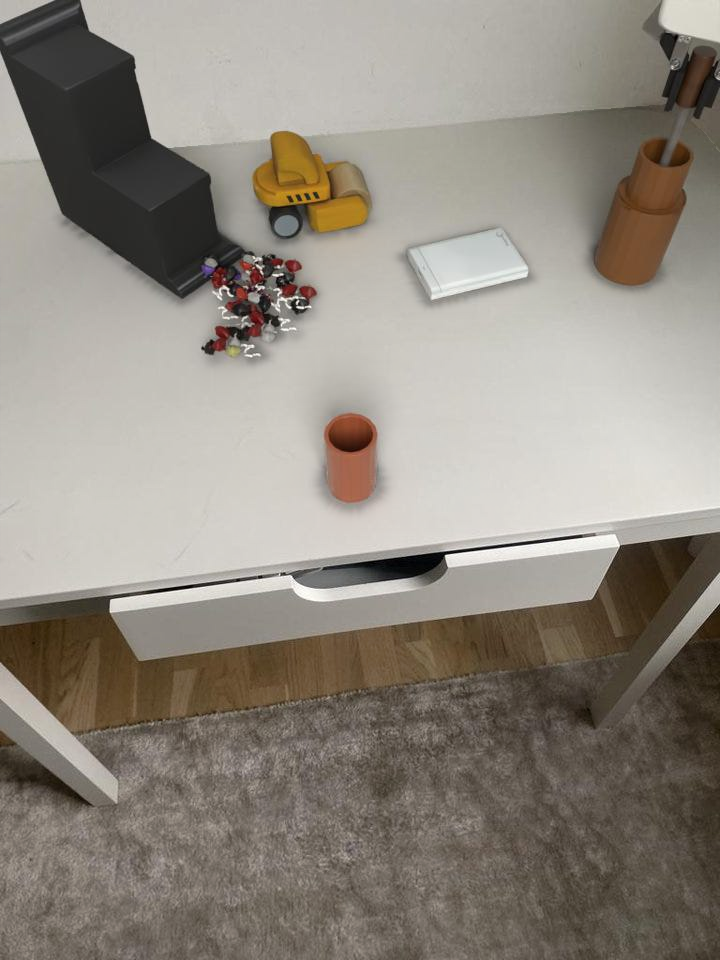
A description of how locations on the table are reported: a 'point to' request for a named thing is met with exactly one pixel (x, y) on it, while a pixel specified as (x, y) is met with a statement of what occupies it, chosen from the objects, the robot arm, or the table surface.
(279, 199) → the toy roller
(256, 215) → the table surface
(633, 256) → the flask
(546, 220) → the table surface
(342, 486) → the holder
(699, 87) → the brush
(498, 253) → the hard drive
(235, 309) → the toy collection
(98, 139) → the black stepped block
